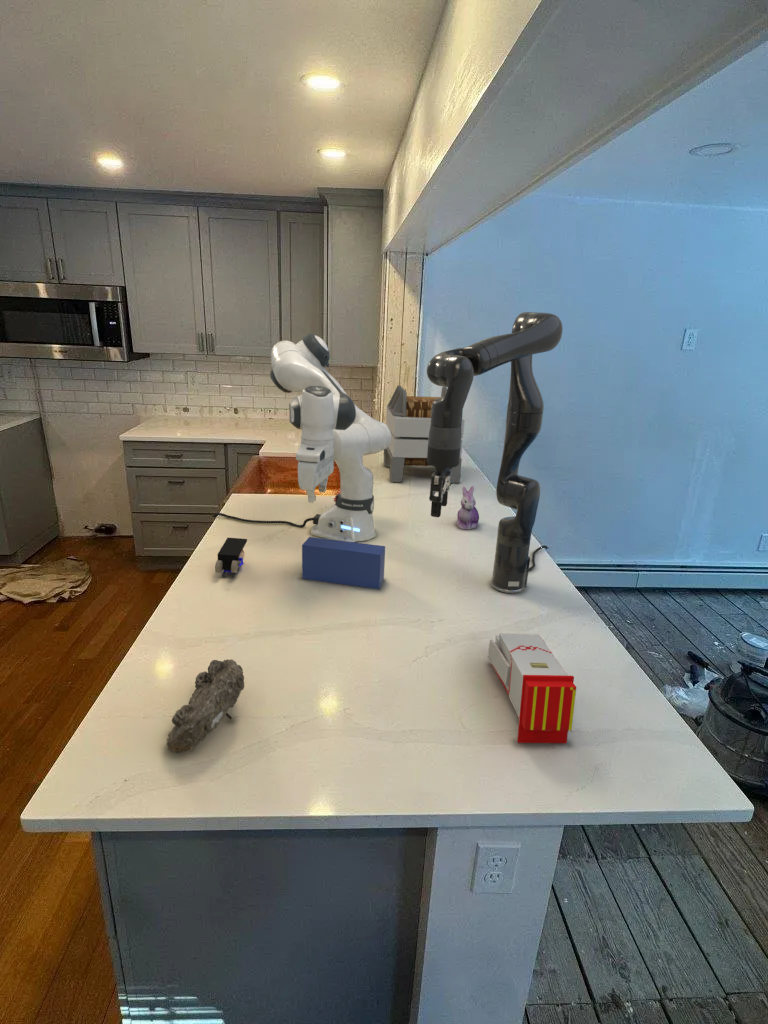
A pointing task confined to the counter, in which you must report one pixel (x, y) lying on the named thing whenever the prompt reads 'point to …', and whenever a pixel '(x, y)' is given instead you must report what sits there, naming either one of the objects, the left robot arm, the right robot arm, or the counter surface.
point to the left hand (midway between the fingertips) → (317, 496)
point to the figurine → (468, 510)
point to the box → (343, 562)
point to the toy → (534, 687)
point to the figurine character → (230, 556)
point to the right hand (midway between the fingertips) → (438, 510)
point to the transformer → (411, 433)
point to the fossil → (206, 705)
